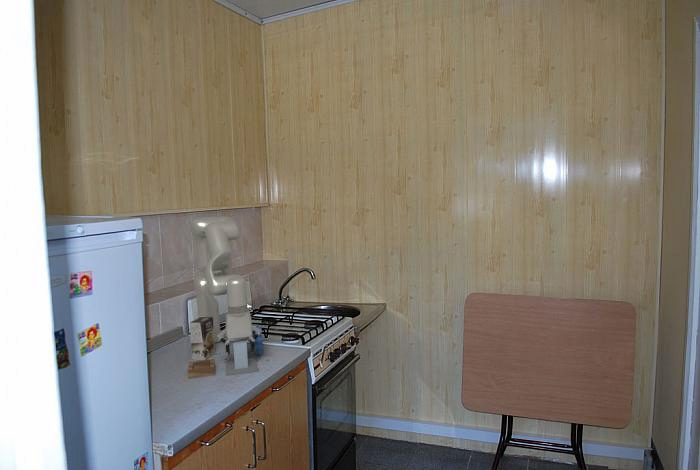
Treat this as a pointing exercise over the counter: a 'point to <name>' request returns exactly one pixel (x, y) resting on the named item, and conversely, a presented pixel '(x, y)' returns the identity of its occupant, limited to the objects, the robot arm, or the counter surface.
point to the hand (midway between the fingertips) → (240, 352)
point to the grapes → (258, 342)
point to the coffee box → (202, 338)
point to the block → (240, 354)
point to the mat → (232, 371)
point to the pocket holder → (201, 368)
